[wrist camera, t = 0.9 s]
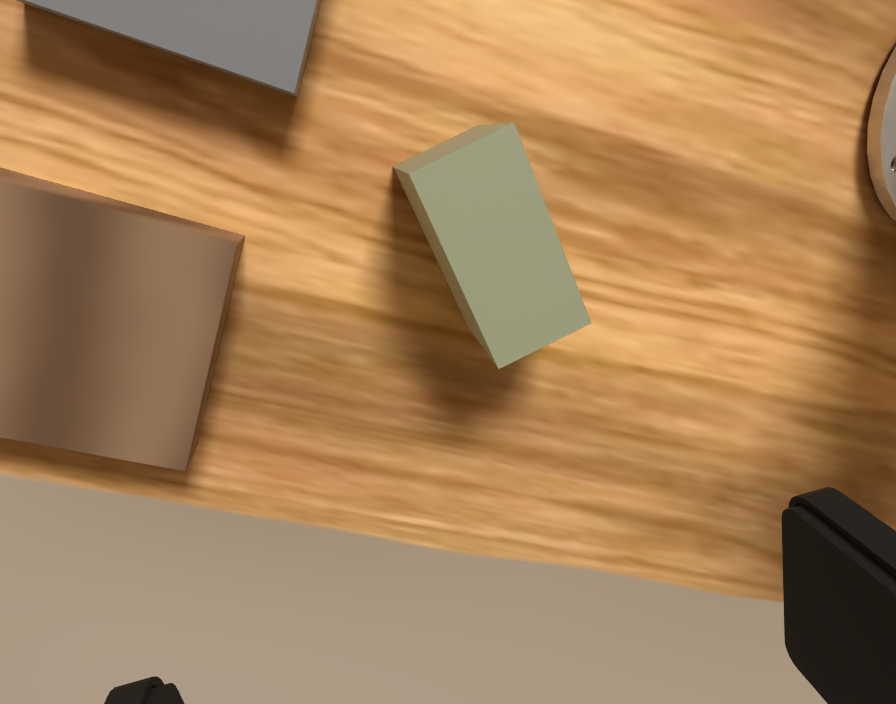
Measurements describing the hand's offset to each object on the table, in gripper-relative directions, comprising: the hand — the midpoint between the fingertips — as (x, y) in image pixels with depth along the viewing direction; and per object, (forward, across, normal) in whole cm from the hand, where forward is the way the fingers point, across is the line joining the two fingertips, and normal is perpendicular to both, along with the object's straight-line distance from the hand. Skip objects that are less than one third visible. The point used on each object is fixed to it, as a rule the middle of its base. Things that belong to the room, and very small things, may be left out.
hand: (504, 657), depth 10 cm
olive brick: (+21, -4, -3) cm, 22 cm away
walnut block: (+21, +12, -3) cm, 25 cm away
